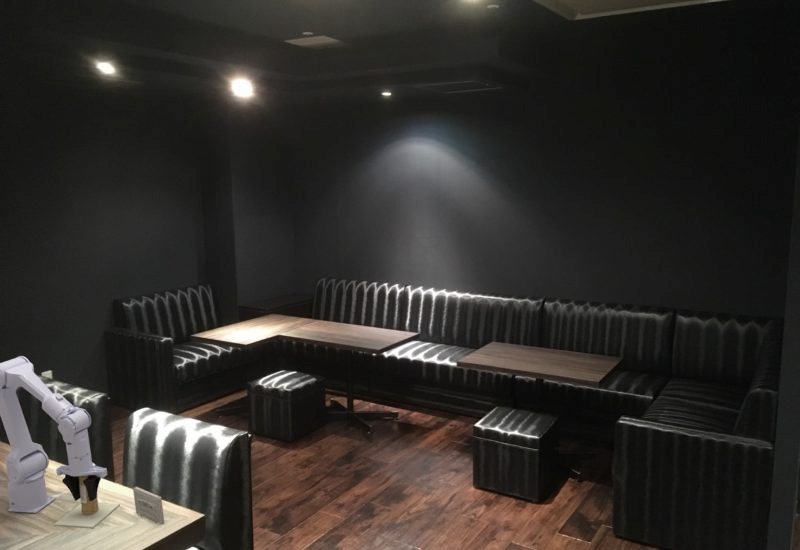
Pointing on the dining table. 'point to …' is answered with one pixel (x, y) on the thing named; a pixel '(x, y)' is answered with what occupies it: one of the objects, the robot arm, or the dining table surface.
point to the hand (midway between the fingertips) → (85, 499)
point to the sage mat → (87, 516)
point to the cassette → (148, 505)
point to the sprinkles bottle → (86, 498)
